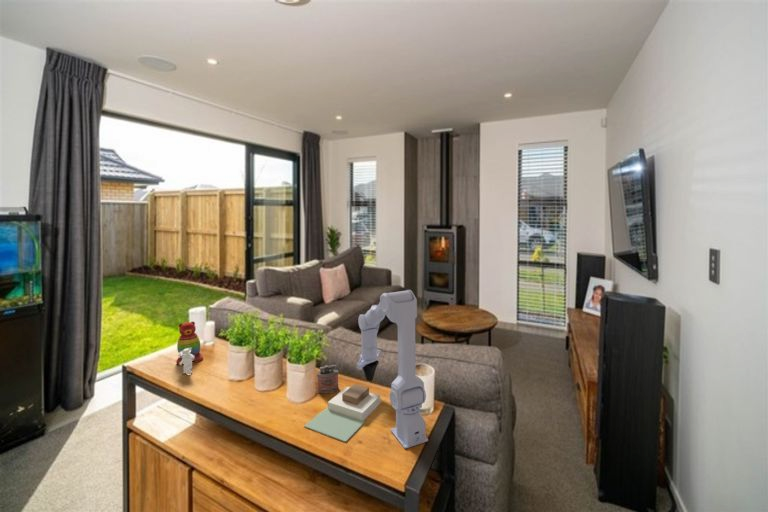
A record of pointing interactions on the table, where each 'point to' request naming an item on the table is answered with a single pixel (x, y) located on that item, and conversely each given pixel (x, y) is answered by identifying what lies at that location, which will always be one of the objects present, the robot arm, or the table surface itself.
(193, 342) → the stacking bear
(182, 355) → the flower shoulder figurine
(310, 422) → the mat
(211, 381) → the table surface
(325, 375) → the lighter
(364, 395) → the walnut tile
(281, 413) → the table surface
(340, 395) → the white flat block
